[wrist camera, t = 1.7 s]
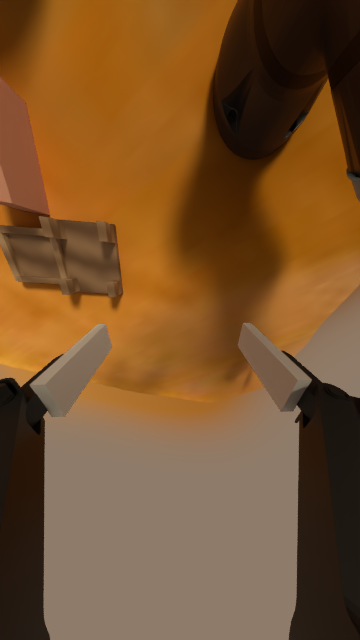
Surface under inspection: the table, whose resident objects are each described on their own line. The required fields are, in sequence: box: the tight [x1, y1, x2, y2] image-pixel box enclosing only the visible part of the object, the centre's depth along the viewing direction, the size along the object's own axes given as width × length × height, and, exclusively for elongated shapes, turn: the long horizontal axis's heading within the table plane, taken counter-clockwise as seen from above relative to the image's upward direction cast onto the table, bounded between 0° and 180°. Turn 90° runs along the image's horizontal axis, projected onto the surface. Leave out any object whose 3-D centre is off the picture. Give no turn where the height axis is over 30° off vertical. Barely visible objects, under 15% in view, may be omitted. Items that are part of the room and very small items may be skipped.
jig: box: [0, 216, 123, 297], centre depth 28 cm, size 14×22×4 cm, turn 86°
